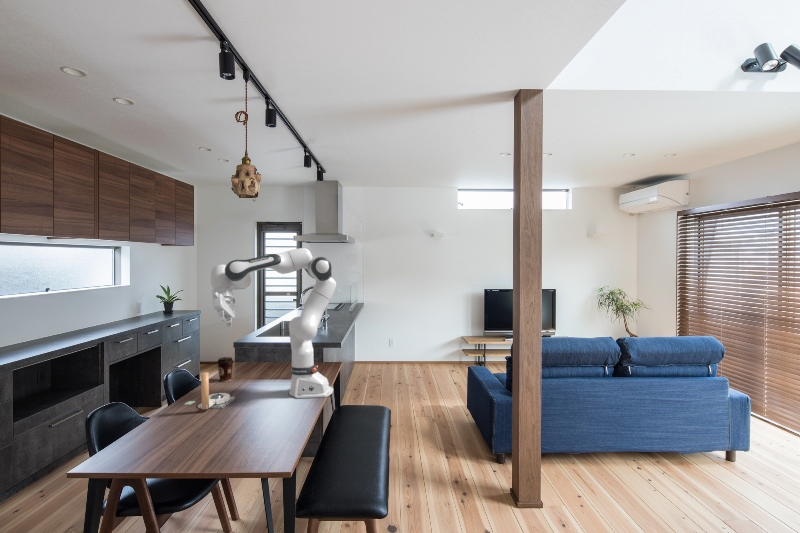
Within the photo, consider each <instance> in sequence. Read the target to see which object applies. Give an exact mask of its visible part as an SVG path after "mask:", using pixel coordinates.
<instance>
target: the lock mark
mask: <svg viewBox="0 0 800 533" xmlns="http://www.w3.org/2000/svg"><path fill="white" fill-rule="evenodd" d="M194 403H196V401H195V400H188V401H187V402H185V403H184V404H183V405H184V406H191V405H192V404H194Z"/></svg>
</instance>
